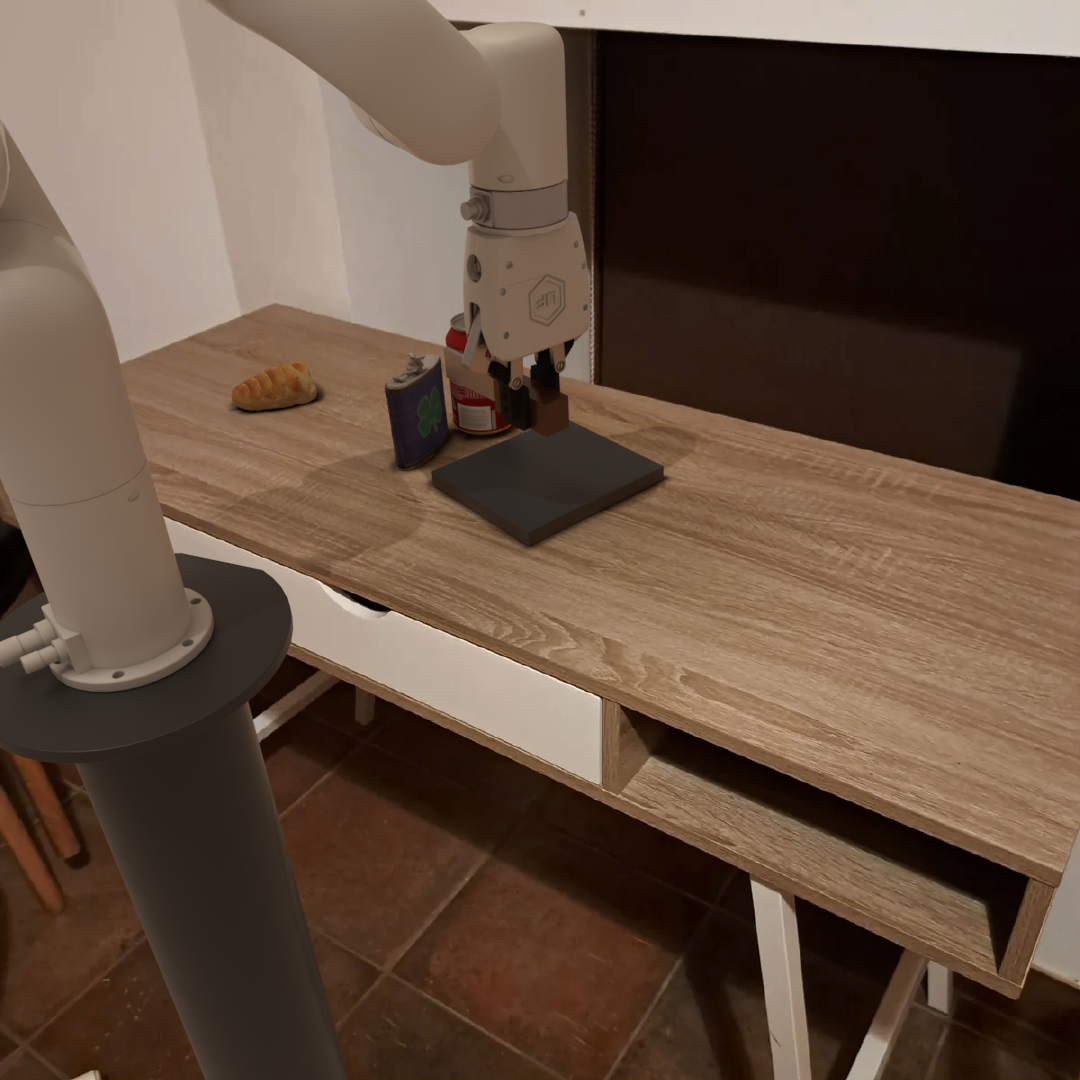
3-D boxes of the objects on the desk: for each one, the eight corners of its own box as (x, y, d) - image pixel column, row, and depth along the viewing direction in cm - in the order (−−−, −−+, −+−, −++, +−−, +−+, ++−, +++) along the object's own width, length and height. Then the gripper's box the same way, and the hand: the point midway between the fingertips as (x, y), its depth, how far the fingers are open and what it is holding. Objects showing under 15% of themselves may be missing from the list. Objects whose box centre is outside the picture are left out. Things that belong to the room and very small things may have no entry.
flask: (432, 428, 109) (422, 334, 103) (457, 432, 108) (448, 338, 102) (390, 468, 102) (376, 370, 96) (415, 473, 101) (403, 374, 95)
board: (528, 546, 90) (528, 532, 89) (432, 484, 99) (430, 471, 98) (663, 479, 98) (664, 466, 98) (562, 428, 108) (562, 416, 107)
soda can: (495, 444, 106) (487, 336, 99) (441, 432, 109) (430, 326, 102) (527, 418, 111) (522, 313, 104) (475, 406, 113) (467, 304, 107)
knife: (569, 427, 86) (568, 395, 84) (546, 437, 85) (544, 405, 83) (459, 372, 97) (456, 343, 95) (436, 380, 95) (433, 351, 94)
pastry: (242, 421, 113) (235, 389, 111) (226, 399, 118) (219, 369, 116) (322, 400, 116) (317, 369, 114) (304, 380, 121) (298, 350, 119)
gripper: (463, 237, 71) (483, 466, 81) (630, 190, 79) (629, 403, 89) (404, 217, 76) (430, 435, 86) (567, 174, 84) (572, 378, 94)
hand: (531, 416), depth 88 cm, fingers closed on knife, 2 cm apart
